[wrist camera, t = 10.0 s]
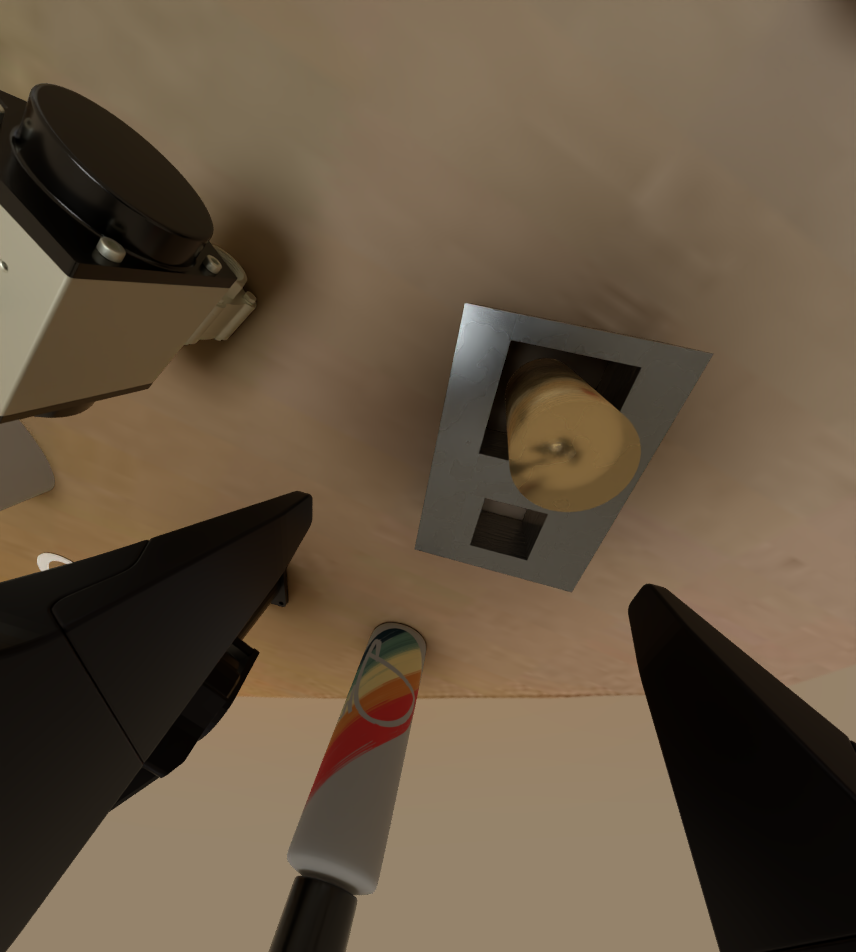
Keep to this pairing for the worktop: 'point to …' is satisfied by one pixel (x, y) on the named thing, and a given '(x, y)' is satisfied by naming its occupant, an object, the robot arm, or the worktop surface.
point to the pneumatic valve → (98, 259)
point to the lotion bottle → (353, 796)
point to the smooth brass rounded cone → (566, 439)
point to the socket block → (486, 451)
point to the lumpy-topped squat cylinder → (21, 466)
